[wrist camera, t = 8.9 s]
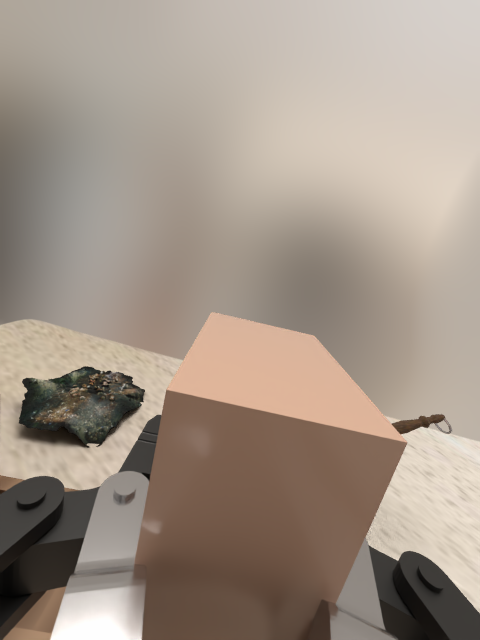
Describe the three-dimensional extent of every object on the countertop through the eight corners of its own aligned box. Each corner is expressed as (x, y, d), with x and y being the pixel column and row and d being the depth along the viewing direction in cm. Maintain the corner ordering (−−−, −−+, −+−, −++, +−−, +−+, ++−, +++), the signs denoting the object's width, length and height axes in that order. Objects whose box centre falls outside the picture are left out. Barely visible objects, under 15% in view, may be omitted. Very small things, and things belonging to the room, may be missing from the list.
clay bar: (90, 796, 7) (166, 389, 4) (160, 550, 13) (211, 312, 10) (240, 819, 7) (407, 443, 4) (241, 566, 13) (314, 335, 10)
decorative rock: (69, 349, 49) (154, 356, 51) (68, 380, 50) (152, 386, 52) (-13, 400, 30) (126, 408, 32) (-11, 449, 31) (123, 452, 34)
